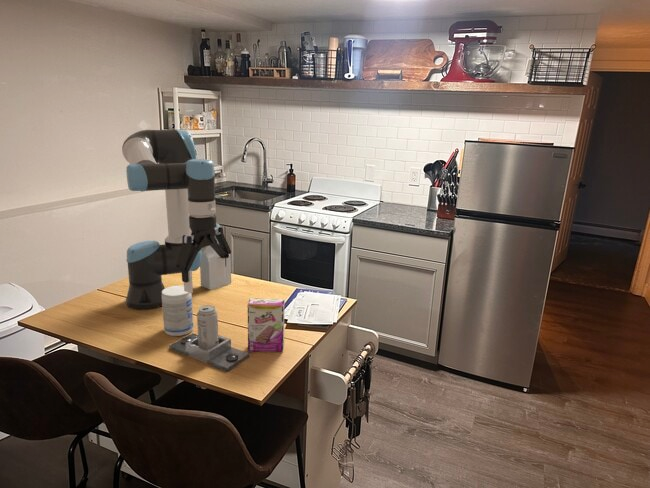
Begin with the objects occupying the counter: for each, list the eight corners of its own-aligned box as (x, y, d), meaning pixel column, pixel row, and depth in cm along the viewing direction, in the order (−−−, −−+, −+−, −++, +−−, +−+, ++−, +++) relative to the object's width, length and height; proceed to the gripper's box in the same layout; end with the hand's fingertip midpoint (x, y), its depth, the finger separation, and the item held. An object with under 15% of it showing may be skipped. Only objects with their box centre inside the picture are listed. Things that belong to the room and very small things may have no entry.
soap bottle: (212, 291, 192) (209, 227, 185) (200, 286, 197) (197, 223, 190) (234, 284, 200) (232, 222, 192) (222, 279, 205) (219, 219, 198)
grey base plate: (169, 349, 147) (168, 337, 145) (192, 336, 155) (192, 325, 154) (227, 371, 135) (226, 359, 134) (249, 356, 143) (249, 345, 142)
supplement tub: (195, 334, 156) (193, 293, 152) (166, 339, 152) (163, 297, 148) (191, 322, 165) (188, 283, 161) (162, 326, 161) (159, 287, 157)
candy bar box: (247, 352, 146) (246, 304, 141) (249, 344, 151) (248, 297, 146) (283, 353, 146) (283, 304, 141) (284, 345, 151) (284, 298, 146)
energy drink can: (221, 355, 144) (219, 310, 140) (202, 359, 141) (199, 314, 137) (215, 346, 149) (213, 303, 145) (196, 350, 146) (194, 306, 142)
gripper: (178, 225, 120) (182, 301, 127) (241, 209, 141) (243, 275, 147) (158, 221, 124) (163, 295, 130) (222, 205, 145) (225, 270, 151)
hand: (205, 284), depth 139 cm, fingers open, 13 cm apart
